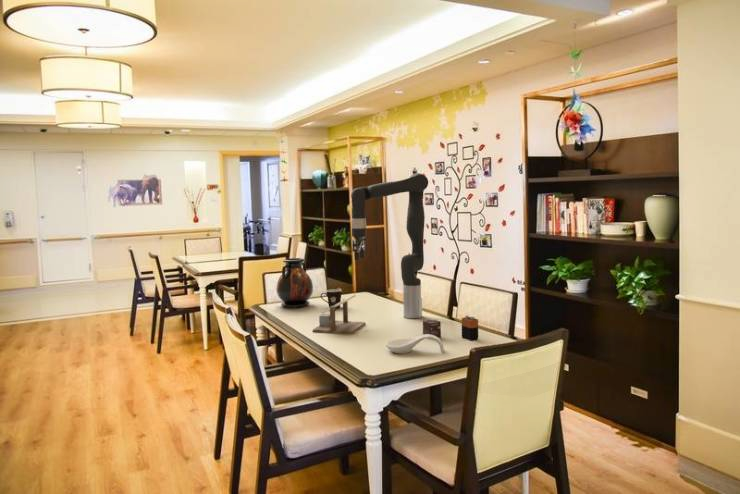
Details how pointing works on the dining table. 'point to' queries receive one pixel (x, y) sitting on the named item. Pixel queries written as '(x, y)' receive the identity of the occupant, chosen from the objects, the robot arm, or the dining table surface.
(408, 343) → the spoon rest
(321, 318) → the gray cube
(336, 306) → the trapdoor
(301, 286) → the amphora vase
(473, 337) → the battery
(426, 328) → the box
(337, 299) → the coffee mug
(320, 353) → the dining table surface
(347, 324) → the stand
